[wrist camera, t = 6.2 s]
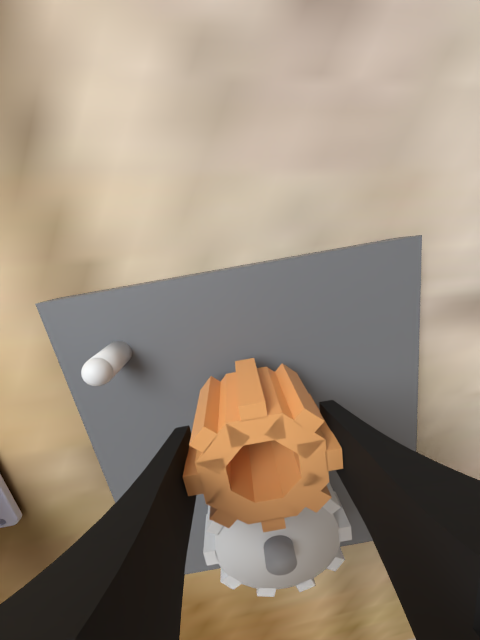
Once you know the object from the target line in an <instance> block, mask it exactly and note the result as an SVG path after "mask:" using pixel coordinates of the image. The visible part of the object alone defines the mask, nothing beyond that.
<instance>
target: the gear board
mask: <svg viewBox="0 0 480 640" xmlns="http://www.w3.org/2000/svg"><path fill="white" fill-rule="evenodd" d="M421 250H422V235H419V236H409V237H399V238H393V239H388V240H382V241H377V242H371V243H365V244H360V245H354V246H348V247H343V248H337V249H332V250H326V251H320V252H315V253H309V254H303V255H298V256H292V257H287V258H281V259H275V260H270V261H264V262H258V263H253V264H247V265H241V266H236V267H230V268H225V269H219V270H213V271H208V272H202V273H196V274H191V275H185V276H180V277H174V278H168V279H163V280H157V281H151V282H146V283H140V284H135V285H129V286H123V287H118V288H112V289H106V290H101V291H95V292H90V293H84V294H78V295H73V296H67V297H61V298H56V299H52V300H48V301H45V302H41V303H37V304H36V307H37V309H38V312H39V314H40V317H41V319H42V322H43V324H44V327H45V329H46V332H47V334H48V337H49V339H50V342H51V344H52V346H53V349H54V351H55V354H56V356H57V359H58V361H59V364H60V366H61V369H62V371H63V374H64V376H65V379H66V381H67V384H68V386H69V389H70V391H71V394H72V396H73V399H74V401H75V404H76V406H77V409H78V411H79V414H80V416H81V419H82V421H83V424H84V426H85V429H86V431H87V434H88V436H89V439H90V441H91V443H92V446H93V448H94V451H95V453H96V456H97V458H98V461H99V463H100V466H101V468H102V471H103V473H104V476H105V478H106V481H107V483H108V486H109V488H110V491H111V493H112V496H113V498H114V501H115V503H116V502H117V501H118V500H119V499H120V498H121V497H122V496H123V494H124V493H125V492H126V491H127V490H128V489H129V488H130V486H131V485H132V484H133V483H134V482H135V480H136V479H137V478H138V477H139V475H140V474H141V473H142V472H143V471H144V469H145V468H146V467H147V466H148V464H149V463H150V462H151V460H152V459H153V458H154V456H155V455H156V454H157V452H158V451H159V450H160V448H161V447H162V445H163V444H164V443H165V441H166V440H167V439H168V437H169V436H170V435H171V433H172V432H173V431H174V429H175V428H177V427H183V426H188V425H189V427H190V431H191V433H192V428H193V423H194V418H195V414H196V409H197V404H198V399H199V394H200V390H201V388H202V387H203V386H204V384H205V383H206V382H207V380H208V379H209V378H210V376H212V377H214V378H215V379H217V380H219V381H220V382H221V380H222V379H223V378H224V376H225V375H226V374H227V373H233V372H236V369H235V361H239V360H244V359H250V358H254V359H255V363H256V367H257V368H261V367H268V368H269V369H271V370H273V371H274V372H275V371H276V370H277V369H278V367H279V366H280V365H281V364H284V365H286V366H287V367H289V368H290V369H292V370H293V371H295V372H296V373H297V374H298V376H299V378H300V379H301V381H302V383H303V385H304V386H305V388H306V390H307V391H308V393H309V394H310V395H311V397H312V398H313V400H314V402H315V403H316V405H317V407H318V408H319V402H323V401H328V400H334V401H335V402H337V403H338V404H339V405H341V406H342V407H344V408H345V409H347V410H348V411H349V412H351V413H352V414H354V415H355V416H357V417H358V418H360V419H361V420H363V421H364V422H366V423H367V424H369V425H370V426H372V427H373V428H375V429H376V430H378V431H380V432H381V433H383V434H385V435H386V436H388V437H390V438H391V439H393V440H395V441H397V442H398V443H400V444H402V445H404V446H406V447H407V448H409V449H411V450H413V451H415V452H416V443H417V404H418V366H419V327H420V288H421ZM319 410H320V408H319ZM328 472H329V483H328V484H327V487H328V490H329V492H330V494H331V498H330V500H329V501H328V502H327V503H326V504H325V505H324V506H323V507H322V508H321V509H320V510H319V511H318V512H317V513H316V512H314V511H312V510H310V509H308V508H307V507H305V508H304V509H303V510H302V511H301V512H300V513H299V514H298V515H297V516H292V517H287V518H284V519H285V525H286V528H285V529H280V530H274V531H269V532H263V529H262V524H261V522H259V523H253V524H246V523H244V522H242V521H240V520H238V519H237V520H236V521H235V522H234V524H233V525H232V526H231V527H230V528H227V527H225V526H223V525H221V524H218V523H216V522H214V521H212V520H210V519H209V516H210V506H209V505H207V504H206V502H205V498H204V495H203V494H199V495H197V496H196V502H195V508H194V514H193V520H192V526H191V532H190V538H189V544H188V550H187V557H186V564H185V573H184V575H185V574H190V573H196V572H201V571H207V570H213V569H218V568H221V583H223V584H225V585H226V586H228V587H230V588H231V589H233V590H234V589H235V588H236V587H238V586H239V585H240V584H243V585H246V586H249V587H253V588H257V596H267V597H274V595H275V592H276V589H283V588H288V587H293V586H296V587H297V589H298V590H299V592H301V591H304V590H306V589H309V588H311V587H314V586H316V585H315V582H314V577H316V576H317V575H319V574H320V573H321V572H323V571H324V570H325V569H329V570H333V571H336V570H337V569H338V568H339V566H340V565H341V564H342V563H343V562H344V560H345V559H344V556H343V553H342V551H341V548H340V547H341V546H347V545H352V544H358V543H363V542H369V541H373V539H372V537H371V535H370V533H369V531H368V529H367V527H366V525H365V523H364V521H363V519H362V517H361V515H360V514H359V512H358V510H357V508H356V506H355V505H354V503H353V501H352V499H351V497H350V495H349V494H348V492H347V490H346V488H345V486H344V485H343V483H342V481H341V479H340V477H339V475H338V474H337V472H336V470H332V471H328Z"/></svg>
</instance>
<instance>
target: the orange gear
mask: <svg viewBox="0 0 480 640" xmlns="http://www.w3.org/2000/svg"><path fill="white" fill-rule="evenodd" d="M235 369H236V372H233V373H227V374H226V375H225V376H224V378H223V379H222V380H221V382H220V381H219V380H217V379H215V378H214V377H212V376H210V378H209V379H208V380H207V382H206V383H205V384H204V386H203V387H202V388H201V390H200V394H199V399H198V404H197V409H196V414H195V418H194V423H193V428H192V433H191V438H190V443H189V451H188V455H187V458H186V462H185V467H184V472H183V480H184V484H185V487H186V490H187V494H188V496H193V495H199V494H203V495H204V498H205V502H206V504H207V505H209V506H210V516H209V519H210V520H212V521H214V522H216V523H218V524H221V525H223V526H225V527H227V528H230V527H231V526H232V525H233V524H234V522H235V521H236V520H237V519H238V520H240V521H242V522H244V523H246V524H253V523H259V522H261V524H262V529H263V532H269V531H274V530H280V529H285V528H286V525H285V519H284V518H287V517H292V516H297V515H298V514H299V513H300V512H301V511H302V510H303V509H304V508H305V507H307V508H308V509H310V510H312V511H314V512H316V513H317V512H318V511H319V510H320V509H321V508H322V507H323V506H324V505H325V504H326V503H327V502H328V501H329V500H330V498H331V494H330V492H329V490H328V487H327V484H328V483H329V472H328V471H332V470H338V469H343V456H342V448H341V446H340V444H339V443H338V441H337V439H336V437H335V436H334V434H333V433H332V431H331V430H330V429H329V427H328V425H327V423H326V422H325V420H324V418H323V417H322V415H321V413H320V410H319V408H318V407H317V405H316V403H315V402H314V400H313V398H312V397H311V395H310V394H309V393H308V391H307V390H306V388H305V386H304V385H303V383H302V381H301V379H300V378H299V376H298V374H297V373H296V372H295V371H293V370H292V369H290V368H289V367H287V366H286V365H284V364H281V365H280V366H279V367H278V369H277V370H276V371H275V372H274V371H273V370H271V369H269V368H268V367H261V368H257V367H256V363H255V359H254V358H250V359H244V360H239V361H235Z"/></svg>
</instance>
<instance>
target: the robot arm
mask: <svg viewBox="0 0 480 640" xmlns="http://www.w3.org/2000/svg"><path fill="white" fill-rule="evenodd" d="M319 408H320V413H321V415H322V417H323V418H324V420H325V422H326V423H327V425H328V427H329V429H330V430H331V431H332V433H333V434H334V436H335V437H336V439H337V441H338V443H339V444H340V446H341V448H342V456H343V469H338V470H336V472H337V474H338V475H339V477H340V479H341V481H342V483H343V485H344V486H345V488H346V490H347V492H348V494H349V495H350V497H351V499H352V501H353V503H354V505H355V506H356V508H357V510H358V512H359V514H360V515H361V517H362V519H363V521H364V523H365V525H366V527H367V529H368V531H369V533H370V535H371V537H372V539H373V542H374V544H375V546H376V548H377V550H378V553H379V555H380V557H381V559H382V561H383V564H384V566H385V568H386V570H387V573H388V575H389V577H390V580H391V582H392V584H393V586H394V589H395V591H396V593H397V596H398V598H399V600H400V602H401V605H402V607H403V609H404V612H405V614H406V617H407V619H408V621H409V624H410V626H411V628H412V631H413V633H414V636H415V638H416V640H480V480H477V479H475V478H472V477H470V476H467V475H465V474H463V473H460V472H458V471H456V470H453V469H451V468H449V467H446V466H444V465H442V464H440V463H438V462H435V461H433V460H431V459H429V458H427V457H425V456H423V455H421V454H419V453H417V452H415V451H413V450H411V449H409V448H407V447H406V446H404V445H402V444H400V443H398V442H397V441H395V440H393V439H391V438H390V437H388V436H386V435H385V434H383V433H381V432H380V431H378V430H376V429H375V428H373V427H372V426H370V425H369V424H367V423H366V422H364V421H363V420H361V419H360V418H358V417H357V416H355V415H354V414H352V413H351V412H349V411H348V410H347V409H345V408H344V407H342V406H341V405H339V404H338V403H337V402H335V401H334V400H328V401H323V402H319ZM190 438H191V431H190V427H189V425H188V426H183V427H177V428H175V429H174V431H173V432H172V433H171V435H170V436H169V437H168V439H167V440H166V441H165V443H164V444H163V445H162V447H161V448H160V450H159V451H158V452H157V454H156V455H155V456H154V458H153V459H152V460H151V462H150V463H149V464H148V466H147V467H146V468H145V469H144V471H143V472H142V473H141V474H140V475H139V477H138V478H137V479H136V480H135V482H134V483H133V484H132V485H131V486H130V488H129V489H128V490H127V491H126V492H125V493H124V494H123V496H122V497H121V498H120V499H119V500H118V501H117V502H116V503H115V504H114V505H113V506H112V507H111V508H110V509H109V511H108V512H107V513H106V514H105V515H104V516H103V517H102V518H101V519H100V520H99V521H98V522H97V523H96V524H94V525H93V526H92V527H91V528H90V529H89V530H88V531H87V532H86V533H85V534H84V535H83V536H82V537H81V538H80V539H79V540H78V541H77V542H75V543H74V544H73V545H72V546H71V547H70V548H69V549H68V550H67V551H65V552H64V553H63V554H62V555H61V556H60V557H59V558H57V559H56V560H55V561H54V562H53V563H52V564H50V565H49V566H48V567H47V568H46V569H44V570H43V571H42V572H41V573H40V574H39V575H37V576H36V577H35V578H34V579H32V580H31V581H30V582H29V583H27V584H26V585H25V586H24V587H23V588H21V589H20V590H19V591H17V592H16V593H15V594H13V595H12V596H11V597H10V598H8V599H7V600H6V601H4V602H3V603H2V604H0V640H179V635H180V622H181V608H182V596H183V585H184V573H185V564H186V557H187V550H188V544H189V538H190V532H191V526H192V520H193V514H194V508H195V502H196V496H197V495H193V496H188V494H187V490H186V487H185V484H184V480H183V472H184V467H185V462H186V458H187V455H188V451H189V443H190ZM21 518H22V513H21V511H20V509H19V507H18V506H17V504H16V502H15V500H14V498H13V496H12V494H11V493H10V491H9V489H8V487H7V485H6V483H5V482H4V480H3V478H2V476H1V474H0V528H2V527H7V526H13V525H16V524H17V523H18V522H19V520H20V519H21Z"/></svg>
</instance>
